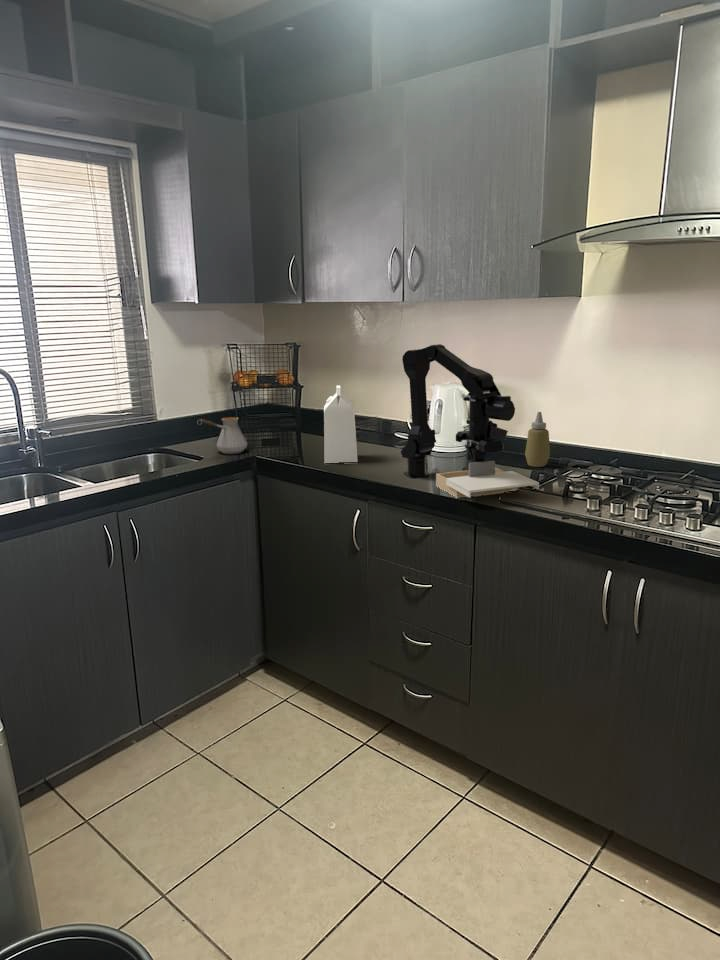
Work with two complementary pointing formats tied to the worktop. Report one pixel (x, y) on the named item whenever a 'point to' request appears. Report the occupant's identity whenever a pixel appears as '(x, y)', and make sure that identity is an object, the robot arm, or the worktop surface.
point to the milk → (339, 430)
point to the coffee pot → (229, 436)
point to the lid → (488, 479)
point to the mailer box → (442, 476)
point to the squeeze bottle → (538, 443)
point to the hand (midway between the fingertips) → (478, 469)
